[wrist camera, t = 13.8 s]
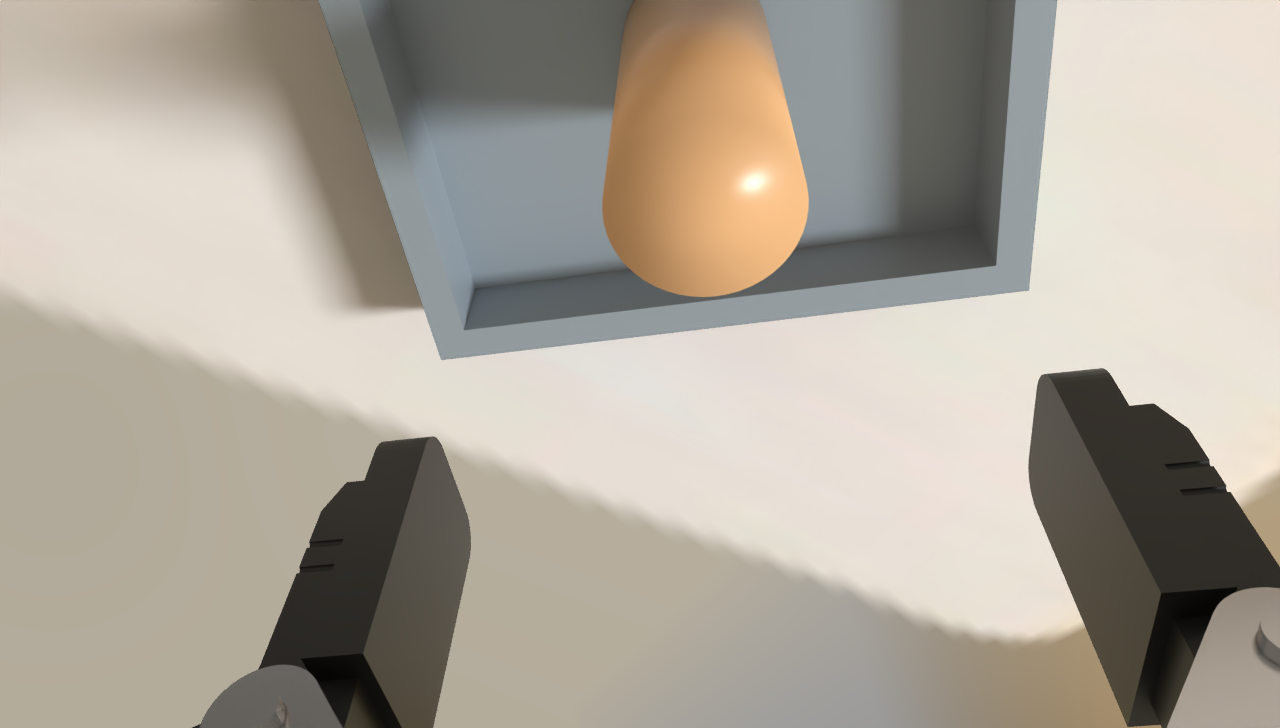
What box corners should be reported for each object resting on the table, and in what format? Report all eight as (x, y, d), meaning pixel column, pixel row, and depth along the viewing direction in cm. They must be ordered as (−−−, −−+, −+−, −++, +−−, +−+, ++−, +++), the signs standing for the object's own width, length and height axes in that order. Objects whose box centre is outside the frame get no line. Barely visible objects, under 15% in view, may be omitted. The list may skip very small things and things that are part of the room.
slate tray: (1046, -381, 22) (1094, -384, 19) (1000, 240, 31) (1028, 290, 29) (284, -238, 24) (242, -225, 21) (457, 308, 33) (441, 360, 31)
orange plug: (761, -47, 25) (803, 97, 17) (772, 99, 28) (813, 285, 20) (612, -24, 26) (584, 127, 18) (635, 117, 28) (619, 306, 20)
